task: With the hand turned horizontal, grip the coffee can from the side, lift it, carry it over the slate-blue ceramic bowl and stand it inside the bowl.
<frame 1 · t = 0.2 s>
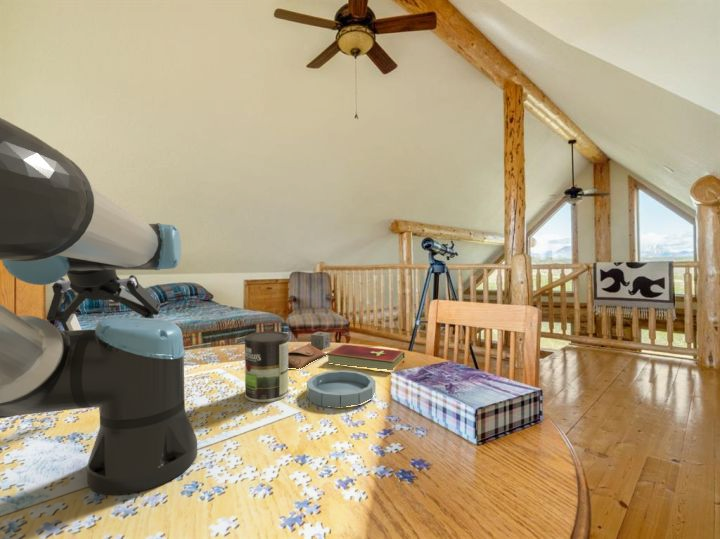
hand: (115, 337, 81), 15 cm above the table, tool tilted 35°, fingers open, 13 cm apart
sunglasses case: (304, 362, 113), on the table
dice cube: (320, 348, 129), on the table
bowl: (341, 393, 87), on the table
hardcover book: (366, 365, 111), on the table
coffee can: (267, 394, 87), on the table
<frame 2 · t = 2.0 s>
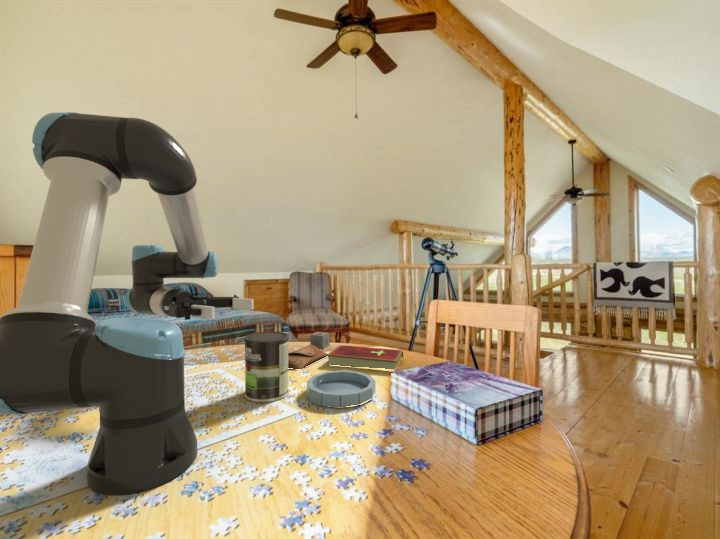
hand: (234, 308, 90), 20 cm above the table, tool horizontal, fingers open, 13 cm apart
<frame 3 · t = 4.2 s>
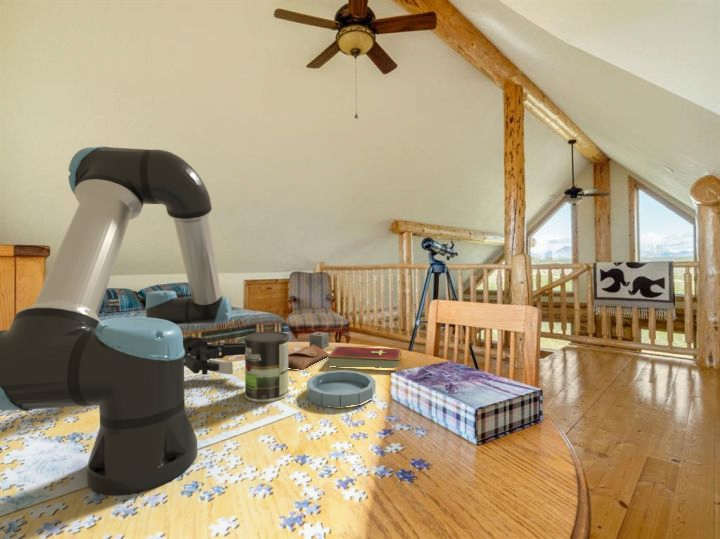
hand: (251, 360, 89), 7 cm above the table, tool horizontal, fingers open, 13 cm apart
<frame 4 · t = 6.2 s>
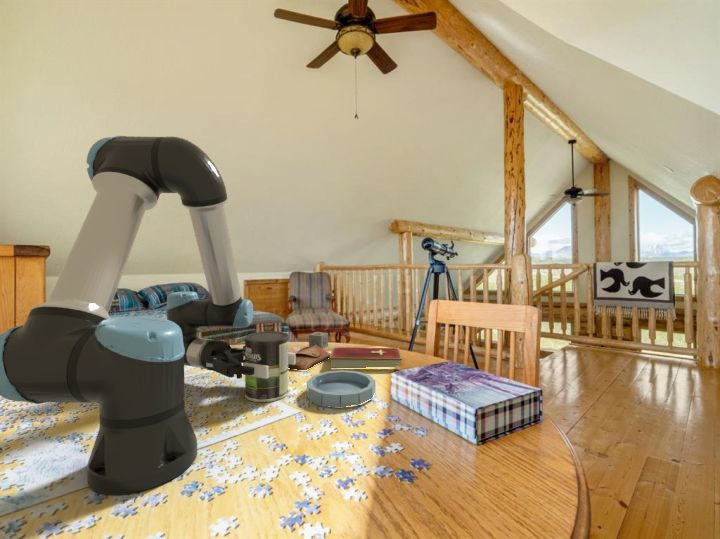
hand: (282, 365, 85), 8 cm above the table, tool horizontal, fingers closed on coffee can, 10 cm apart
coffee can: (267, 394, 87), on the table, touching gripper
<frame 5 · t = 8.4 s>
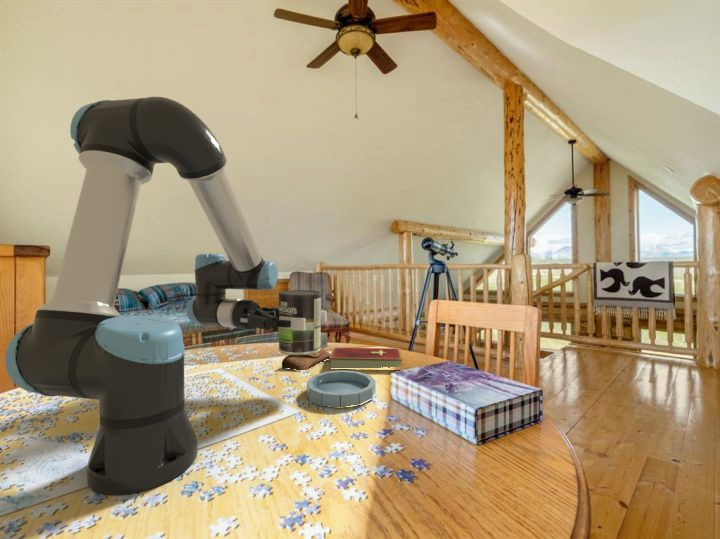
hand: (316, 320, 86), 18 cm above the table, tool horizontal, fingers closed on coffee can, 10 cm apart
coffee can: (300, 350, 88), point 10 cm above the table, touching gripper
when the fingers open (10 cm above the table, at t = 11.1 s): coffee can drops 1 cm, resting on bowl.
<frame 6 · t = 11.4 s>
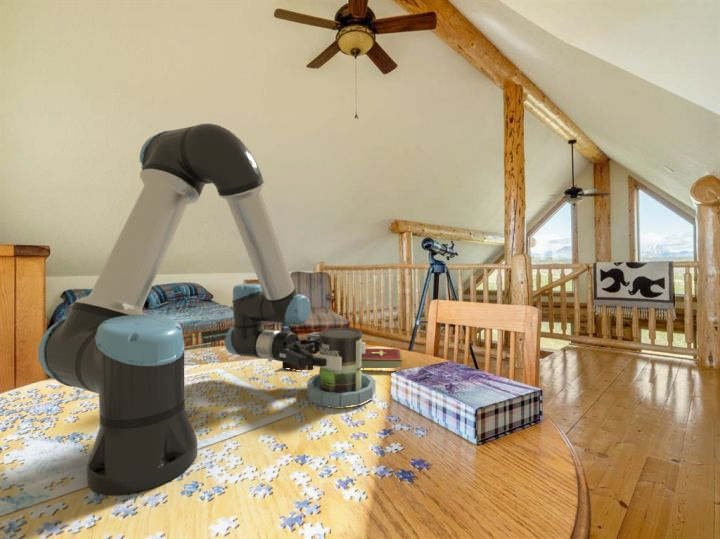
hand: (353, 355, 85), 10 cm above the table, tool horizontal, fingers open, 13 cm apart
coffee can: (340, 391, 87), point 1 cm above the table, touching bowl
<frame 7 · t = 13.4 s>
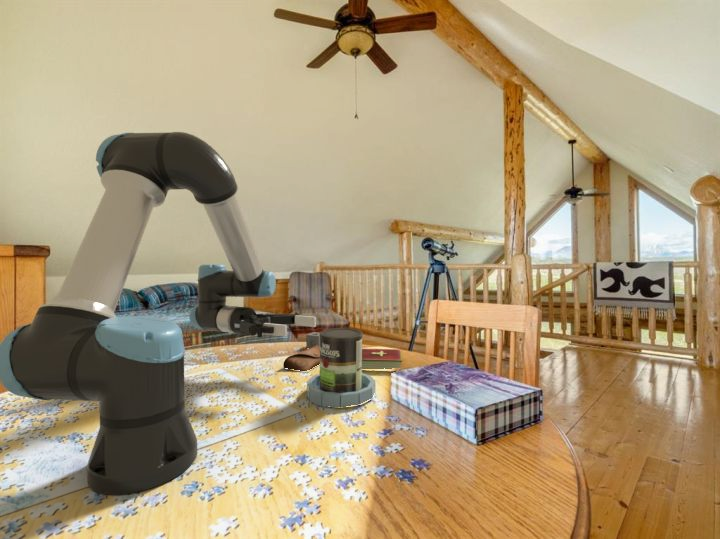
hand: (301, 326, 94), 15 cm above the table, tool horizontal, fingers open, 13 cm apart
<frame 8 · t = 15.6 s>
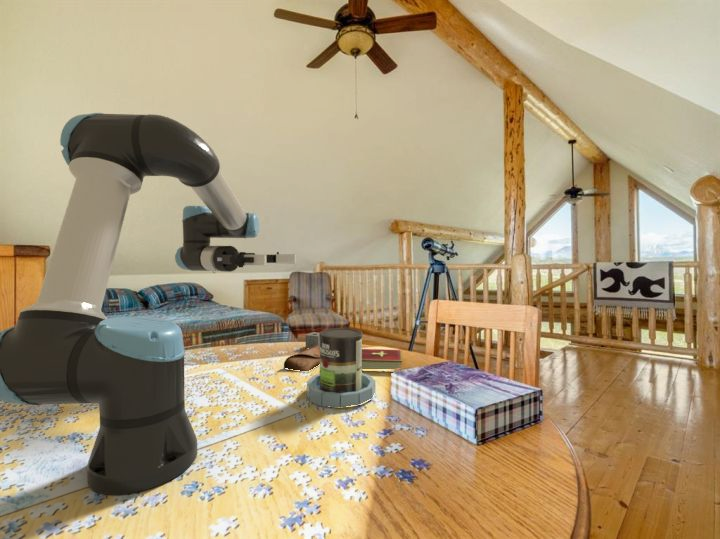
hand: (281, 259, 98), 32 cm above the table, tool horizontal, fingers open, 13 cm apart
at the end: coffee can inside the target area on the bowl (0.0 cm from its centre), point 0.6 cm above the bowl's base; coffee can tilted 0°; the gripper is holding nothing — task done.
